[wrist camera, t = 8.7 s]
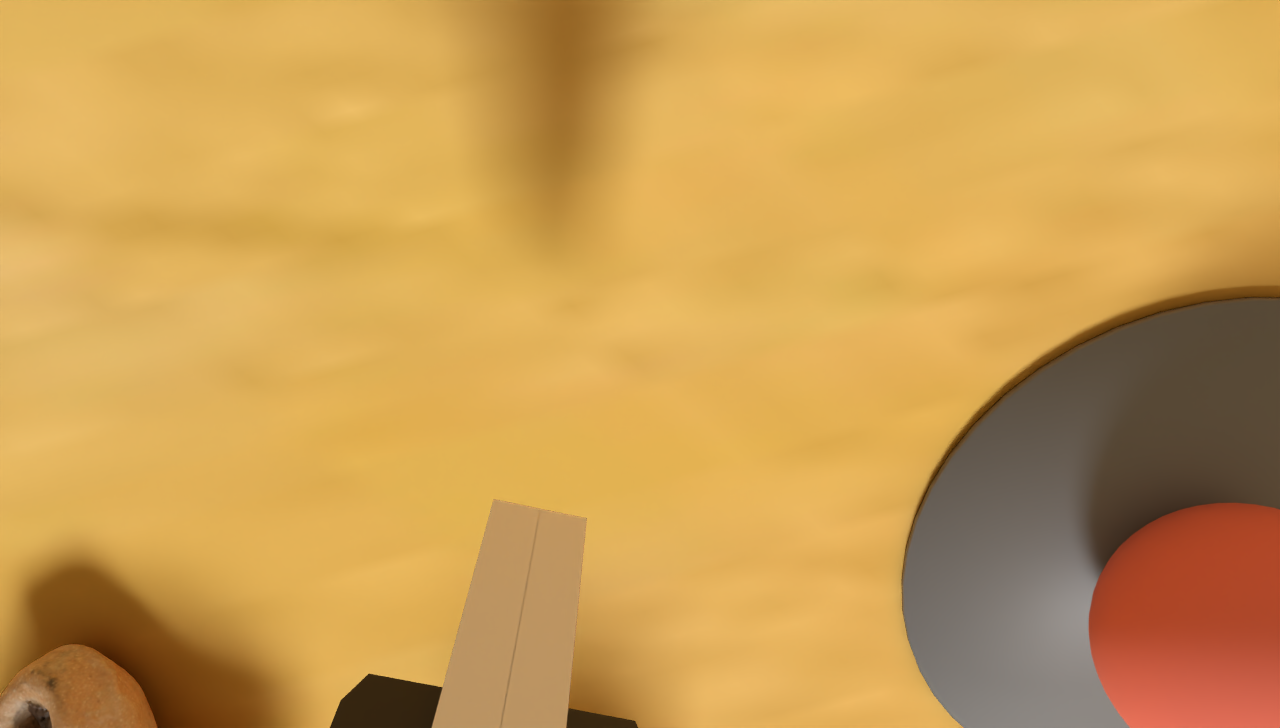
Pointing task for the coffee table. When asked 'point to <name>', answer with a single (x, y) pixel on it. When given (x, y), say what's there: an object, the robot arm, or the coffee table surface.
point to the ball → (1193, 620)
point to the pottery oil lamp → (74, 693)
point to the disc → (1082, 503)
